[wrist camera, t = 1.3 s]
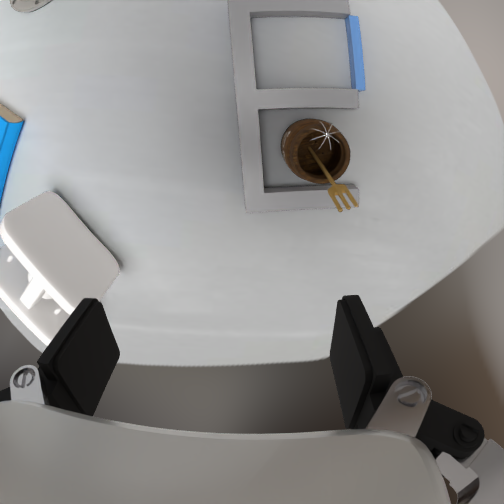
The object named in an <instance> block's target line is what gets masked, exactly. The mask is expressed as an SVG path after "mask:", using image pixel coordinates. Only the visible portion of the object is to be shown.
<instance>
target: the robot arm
mask: <svg viewBox="0 0 504 504" xmlns="http://www.w3.org/2000/svg"><path fill="white" fill-rule="evenodd" d="M49 1H51V0H10V4H11V7H12V8H13V9H14V10H16V11H19V12H31V11H34V10H36V9H38V8H40V7H42V6H44V5H45V4H47V3H48V2H49ZM119 356H120V351H119V348H118V346H117V343H116V340H115V338H114V335H113V333H112V330H111V327H110V325H109V322H108V319H107V317H106V314H105V311H104V308H103V305H102V303H101V302H99V301H98V299H96V298H84V299H82V301H81V302H80V303H79V304H78V306H77V307H76V308H75V310H74V311H73V312H72V314H71V315H70V316H69V318H68V319H67V320H66V322H65V323H64V324H63V326H62V327H61V328H60V330H59V331H58V332H57V334H56V335H55V337H54V338H53V339H52V341H51V342H50V344H49V345H48V346H47V348H46V349H45V351H44V352H43V354H42V355H41V356H40V358H39V360H38V361H37V363H38V364H39V368H38V369H37V368H36V367H35V366H32V365H26V366H22V367H20V368H19V369H17V370H16V371H15V372H14V374H13V375H12V377H11V379H10V387H9V388H6V389H4V390H2V391H0V504H451V502H450V499H449V495H448V492H447V489H446V485H445V482H444V480H443V477H446V478H447V479H448V480H449V481H450V482H451V483H450V485H451V487H453V488H454V490H455V491H456V492H457V495H458V501H457V504H504V449H502V448H501V447H500V446H499V445H498V444H497V443H495V442H494V441H493V440H492V439H490V440H489V441H487V440H486V439H485V438H484V430H483V428H482V425H481V424H480V423H479V422H478V421H477V420H475V419H474V418H471V417H469V416H467V415H464V414H462V413H460V412H457V411H455V410H453V409H451V408H449V407H446V406H444V405H442V404H440V403H438V402H435V401H433V400H431V396H432V395H431V390H430V388H429V386H428V385H427V384H426V383H425V382H424V381H423V380H421V379H419V378H415V377H403V375H402V373H401V371H400V369H399V366H398V364H397V362H396V360H395V357H394V355H393V353H392V351H391V349H390V346H389V344H388V342H387V340H386V338H385V336H384V334H383V332H382V330H381V328H379V327H375V328H374V327H373V325H372V322H371V320H370V318H369V316H368V314H367V312H366V310H365V307H364V305H363V303H362V301H361V299H360V297H359V295H348V296H343V298H342V300H338V302H337V309H336V316H335V323H334V330H333V336H332V343H331V349H330V361H331V365H332V369H333V374H334V377H335V382H336V386H337V391H338V395H339V399H340V404H341V408H342V413H343V418H344V423H345V427H346V429H348V430H334V431H320V432H306V433H282V434H225V433H224V434H221V433H205V432H192V431H180V430H171V429H162V428H154V427H147V426H140V425H134V424H128V423H123V422H117V421H112V420H107V419H102V418H97V417H93V414H94V412H95V410H96V408H97V405H98V403H99V401H100V398H101V396H102V394H103V392H104V390H105V387H106V385H107V383H108V381H109V379H110V376H111V374H112V372H113V370H114V368H115V366H116V363H117V361H118V359H119Z"/></svg>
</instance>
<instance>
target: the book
mask: <svg viewBox="0 0 504 504" xmlns="http://www.w3.org/2000/svg"><path fill="white" fill-rule="evenodd" d="M22 120H23V119H21V118H20V117H19V116H17V115H16V114H14V113H13V112H11V111H10V110H9V109H7V108H6V107H4V106H3V105H2V104H0V202H1V197H2V193H3V188H4V184H5V180H6V176H7V172H8V169H9V165H10V162H11V158H12V155H13V151H14V148H15V145H16V142H17V139H18V136H19V133H20V130H21V128H22V125H23V122H24V121H23V122H22ZM19 121H20V122H19Z"/></svg>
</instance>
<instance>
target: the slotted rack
mask: <svg viewBox="0 0 504 504" xmlns="http://www.w3.org/2000/svg"><path fill="white" fill-rule="evenodd" d="M228 12H229V24H230V35H231V47H232V59H233V71H234V82H235V94H236V105H237V117H238V129H239V140H240V151H241V163H242V174H243V186H244V197H245V208H246V213H255V212H270V211H287V210H305V209H326V208H336V206H335V204H334V202H333V201H332V199H331V197H330V196H329V194H328V189H329V188H330V187H332V185H319V186H296V187H277V188H264V184H263V170H262V156H261V142H260V129H259V116H258V110H260V109H279V108H359V101H358V91H364V90H365V76H364V64H363V53H362V44H361V35H360V27H359V19H358V16H351V15H350V9H349V2H348V0H228ZM280 16H301V17H326V18H339V19H345V23H346V31H347V40H348V49H349V59H350V71H351V85H352V89H341V88H277V89H258V90H256V79H255V67H254V56H253V44H252V33H251V23H250V18H254V17H280ZM346 187H347V188H348V190H349V191H350V193H351V194H352V196H353V197H354V199H355V200H356V202H357V203H358V207H359V188H357V187H356V186H355V185H346ZM343 196H344V197H345V199H346V200H347V202H348V204H349V205H350V207H355V206H354V205H353V203H352V202H351V200H350V199H349V198H348V196H347V195H346V193H343ZM335 197H336V199H337V201H338V202H339V204H340V206H341V208H346V207H345V205H344V204H343V202H342V201H341V199H340V198H339V196H338V195H336V196H335Z"/></svg>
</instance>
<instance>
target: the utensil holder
mask: <svg viewBox="0 0 504 504" xmlns="http://www.w3.org/2000/svg"><path fill="white" fill-rule="evenodd" d="M281 151H282V155H283V158H284V160H285V162H286V164H287V165H288V167H289V168H290V169H291V171H292V172H293V173H294V174H296V175H297V176H298V177H300V178H302V179H304V180H307V181H310V182H313V183H318V184H325V183H331V185H332V187H330V188H329V189H328V194H329V196H330V197H331V199H332V201H333V202H334V204H335V206H336V208H337V209H338V211H339V212H342V211H343V209H342V208H341V206H340V204H339V202H338V201H337V199H336V197H335V196H336V195H338V196H339V198H340V199H341V201H342V202H343V204H344V205H345V207H346V209H348V210H349V209H350V208H351V207H350V205H349V204H348V202H347V200H346V199H345V197H344V196H343V193H346V195H347V196H348V198H349V199H350V200H351V202H352V203H353V205H354V206H355V207H358V203H357V202H356V200H355V199H354V197H353V196H352V194H351V193H350V191H349V190H348V188H347V187H346V185H344V184H336V183H335V182H334V181H335V180H337V179H338V178H339V177H341V176H342V175H343V174H344V172H345V171H346V169H347V167H348V165H349V162H350V148H349V145H348V143H347V141H346V139H345V137H344V136H343V135H342V134H341V133H340V132H339V130H338V129H337V128H335V127H334V126H333V125H332V123H328V122H325V121H322V120H317V119H303V120H300V121H297V122H295V123H293V124H292V125H291V126H290V127H289V128H288V129H287V130H286V131H285V133H284V135H283V137H282V141H281Z"/></svg>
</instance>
